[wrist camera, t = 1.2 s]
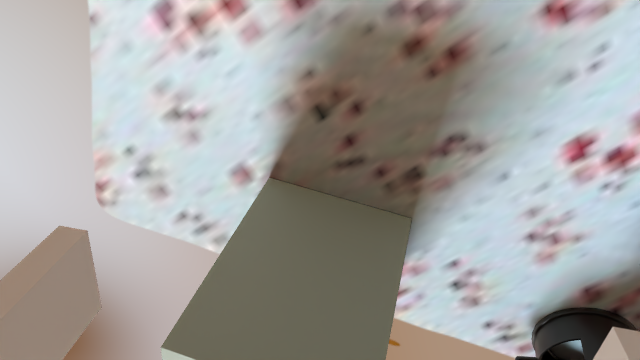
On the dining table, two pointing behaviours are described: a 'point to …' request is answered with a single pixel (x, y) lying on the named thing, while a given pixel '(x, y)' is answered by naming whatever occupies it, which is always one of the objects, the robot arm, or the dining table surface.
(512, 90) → the dining table surface
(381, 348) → the sage green block
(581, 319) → the french press
